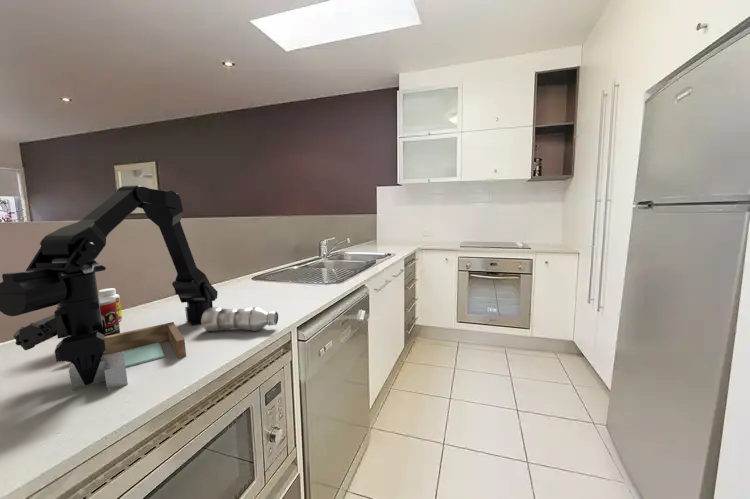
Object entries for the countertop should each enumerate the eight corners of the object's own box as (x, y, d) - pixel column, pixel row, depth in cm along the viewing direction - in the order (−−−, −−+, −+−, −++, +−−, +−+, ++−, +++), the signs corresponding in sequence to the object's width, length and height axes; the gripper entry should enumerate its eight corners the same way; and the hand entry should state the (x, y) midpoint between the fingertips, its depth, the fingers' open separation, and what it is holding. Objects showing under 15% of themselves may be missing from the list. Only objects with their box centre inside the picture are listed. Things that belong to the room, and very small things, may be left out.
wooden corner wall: (175, 336, 83) (173, 321, 83) (186, 356, 71) (184, 339, 71) (78, 359, 71) (75, 342, 71) (72, 387, 59) (69, 367, 59)
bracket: (125, 369, 66) (123, 351, 65) (127, 384, 60) (125, 364, 59) (73, 383, 61) (70, 364, 60) (69, 401, 55) (66, 380, 54)
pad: (159, 343, 79) (158, 342, 79) (164, 357, 71) (164, 355, 71) (101, 357, 72) (101, 356, 72) (100, 374, 64) (100, 372, 64)
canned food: (98, 349, 76) (92, 305, 75) (72, 347, 78) (66, 304, 77) (128, 337, 84) (123, 297, 82) (104, 335, 85) (99, 296, 84)
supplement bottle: (116, 324, 94) (111, 291, 93) (94, 326, 93) (89, 292, 92) (126, 318, 100) (122, 286, 99) (106, 320, 99) (101, 288, 97)
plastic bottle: (213, 318, 92) (281, 317, 91) (202, 336, 86) (275, 335, 85) (206, 302, 88) (277, 301, 87) (194, 319, 82) (270, 318, 82)
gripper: (24, 297, 61) (37, 373, 63) (0, 321, 47) (17, 418, 49) (100, 287, 68) (109, 355, 70) (99, 305, 54) (110, 390, 56)
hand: (89, 376), depth 61 cm, fingers open, 7 cm apart
